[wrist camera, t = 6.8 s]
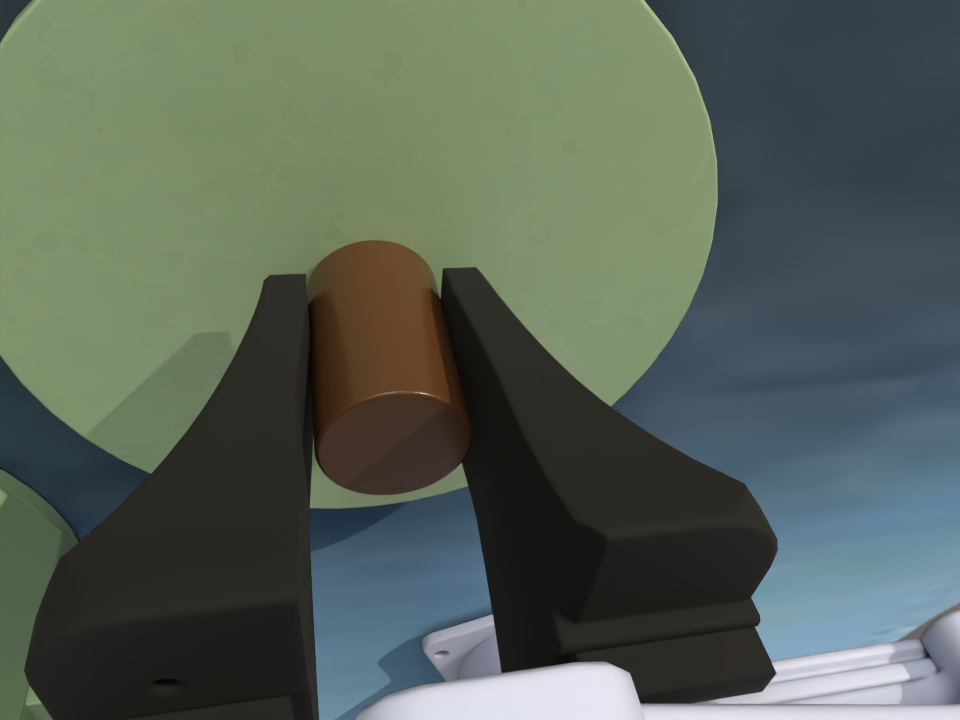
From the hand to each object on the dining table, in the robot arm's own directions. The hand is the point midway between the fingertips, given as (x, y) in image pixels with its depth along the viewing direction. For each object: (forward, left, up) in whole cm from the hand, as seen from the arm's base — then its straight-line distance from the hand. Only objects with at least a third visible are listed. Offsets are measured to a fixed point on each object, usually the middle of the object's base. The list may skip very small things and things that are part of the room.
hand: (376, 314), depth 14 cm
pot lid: (0, 0, -1) cm, 1 cm away
